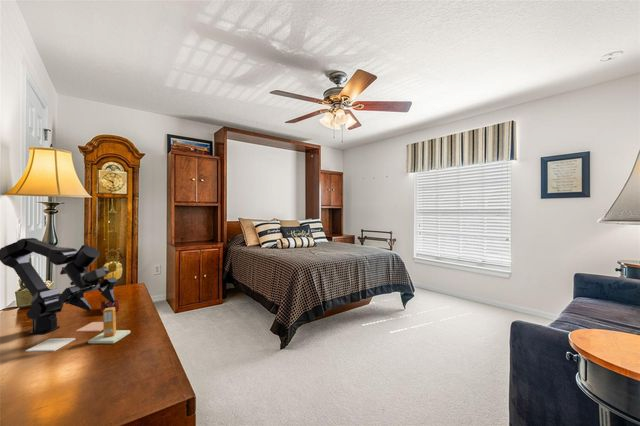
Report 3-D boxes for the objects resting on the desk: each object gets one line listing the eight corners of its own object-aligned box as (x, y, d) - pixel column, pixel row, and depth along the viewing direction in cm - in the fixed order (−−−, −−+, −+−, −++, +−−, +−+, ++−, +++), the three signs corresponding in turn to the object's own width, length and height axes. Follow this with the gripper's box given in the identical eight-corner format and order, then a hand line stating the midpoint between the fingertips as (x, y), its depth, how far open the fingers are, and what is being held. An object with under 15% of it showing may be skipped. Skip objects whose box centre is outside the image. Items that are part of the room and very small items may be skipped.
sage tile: (88, 343, 101) (88, 340, 101) (106, 332, 110) (107, 330, 110) (113, 343, 101) (113, 340, 101) (130, 332, 110) (130, 330, 110)
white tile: (25, 353, 94) (25, 350, 94) (49, 341, 103) (49, 338, 103) (54, 352, 95) (54, 349, 95) (75, 340, 104) (75, 338, 104)
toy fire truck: (100, 315, 128) (100, 292, 128) (100, 308, 138) (100, 287, 138) (119, 312, 132) (119, 290, 132) (118, 305, 142) (118, 285, 142)
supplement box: (105, 334, 106) (105, 307, 106) (116, 332, 107) (116, 306, 107) (102, 337, 103) (102, 310, 103) (113, 336, 104) (114, 309, 104)
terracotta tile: (75, 333, 110) (75, 330, 110) (92, 324, 119) (92, 322, 119) (99, 332, 111) (99, 330, 111) (114, 323, 120) (114, 321, 120)
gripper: (65, 265, 98) (90, 299, 96) (114, 257, 116) (136, 286, 114) (47, 286, 100) (71, 320, 97) (98, 275, 118) (119, 303, 116)
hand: (102, 306), depth 106 cm, fingers open, 9 cm apart
